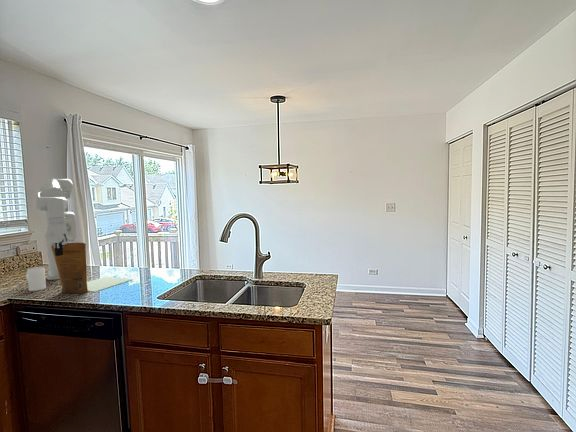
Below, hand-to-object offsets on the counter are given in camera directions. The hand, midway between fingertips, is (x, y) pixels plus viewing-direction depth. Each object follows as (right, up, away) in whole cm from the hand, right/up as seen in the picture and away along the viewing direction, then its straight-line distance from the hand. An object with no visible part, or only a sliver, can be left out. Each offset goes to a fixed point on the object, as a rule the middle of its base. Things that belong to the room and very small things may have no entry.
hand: (59, 255), depth 182 cm
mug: (-25, -21, +17) cm, 37 cm away
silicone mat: (+9, -20, +24) cm, 33 cm away
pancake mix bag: (+3, -22, +8) cm, 23 cm away
